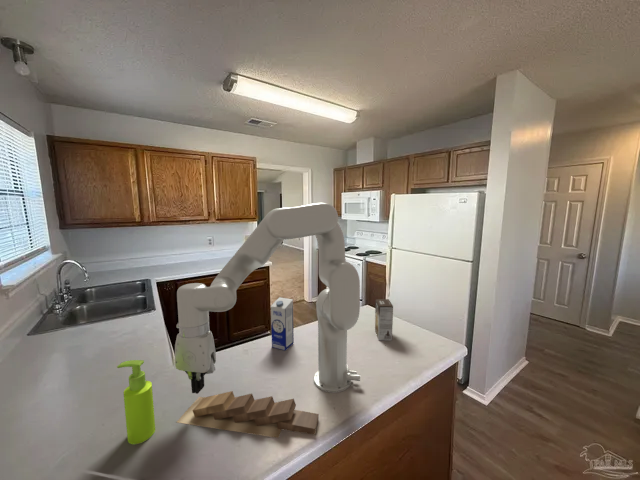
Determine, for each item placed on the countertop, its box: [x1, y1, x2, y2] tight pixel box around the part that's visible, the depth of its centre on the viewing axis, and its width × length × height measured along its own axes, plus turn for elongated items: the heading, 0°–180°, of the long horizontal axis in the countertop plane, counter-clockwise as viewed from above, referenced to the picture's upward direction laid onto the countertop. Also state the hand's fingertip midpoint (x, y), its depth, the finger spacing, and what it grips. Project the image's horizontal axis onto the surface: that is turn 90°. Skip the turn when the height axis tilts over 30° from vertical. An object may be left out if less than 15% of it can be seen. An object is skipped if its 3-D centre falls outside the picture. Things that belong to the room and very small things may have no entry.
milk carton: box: [270, 296, 295, 352], centre depth 111 cm, size 7×7×20 cm
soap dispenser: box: [116, 359, 156, 445], centre depth 66 cm, size 6×7×20 cm
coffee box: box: [374, 298, 394, 341], centre depth 120 cm, size 9×6×16 cm
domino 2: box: [212, 393, 255, 420], centre depth 73 cm, size 2×5×10 cm
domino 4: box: [254, 398, 297, 426], centre depth 71 cm, size 2×5×10 cm
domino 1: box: [192, 390, 236, 417], centre depth 74 cm, size 2×5×10 cm
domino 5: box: [277, 409, 320, 436], centre depth 70 cm, size 2×5×10 cm
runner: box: [176, 396, 282, 439], centre depth 73 cm, size 29×10×1 cm, turn 80°
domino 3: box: [233, 395, 276, 423], centre depth 72 cm, size 2×5×10 cm
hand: (198, 390), depth 74 cm, fingers closed
